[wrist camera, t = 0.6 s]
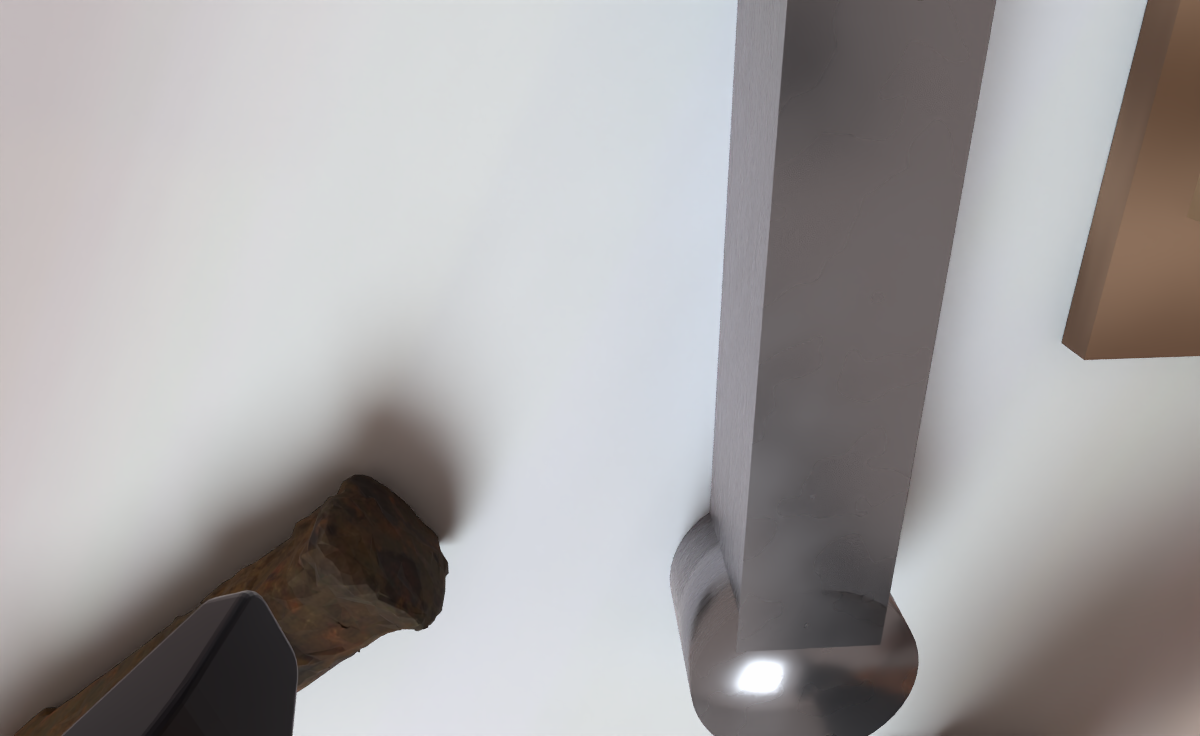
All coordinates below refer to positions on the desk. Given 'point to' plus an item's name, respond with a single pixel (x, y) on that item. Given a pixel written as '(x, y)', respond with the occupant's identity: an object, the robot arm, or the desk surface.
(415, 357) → the desk surface
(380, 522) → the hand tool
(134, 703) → the robot arm
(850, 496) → the grey long block
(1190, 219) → the tool rack
